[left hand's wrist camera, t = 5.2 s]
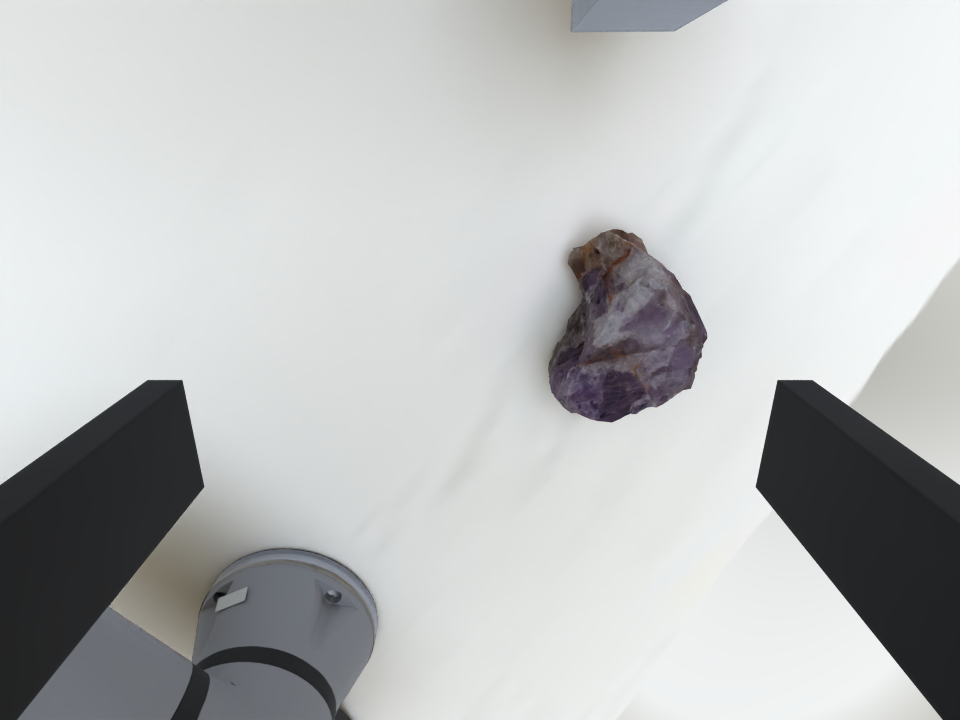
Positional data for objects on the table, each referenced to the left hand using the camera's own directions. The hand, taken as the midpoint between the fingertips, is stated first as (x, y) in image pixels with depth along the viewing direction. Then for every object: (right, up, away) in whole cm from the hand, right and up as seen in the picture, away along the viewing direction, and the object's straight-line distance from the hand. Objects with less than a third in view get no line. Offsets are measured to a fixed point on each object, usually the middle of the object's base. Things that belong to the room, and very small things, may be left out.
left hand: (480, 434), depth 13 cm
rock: (+10, +5, +29) cm, 31 cm away
